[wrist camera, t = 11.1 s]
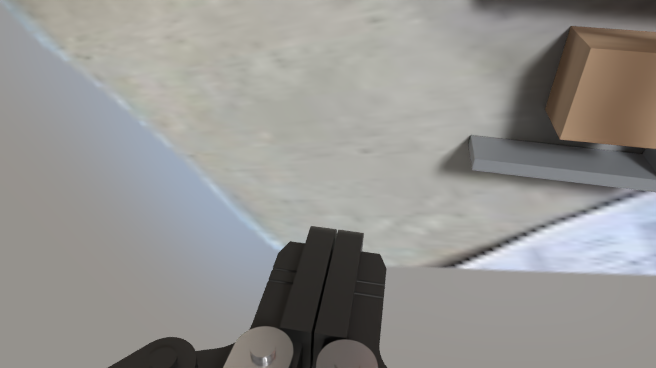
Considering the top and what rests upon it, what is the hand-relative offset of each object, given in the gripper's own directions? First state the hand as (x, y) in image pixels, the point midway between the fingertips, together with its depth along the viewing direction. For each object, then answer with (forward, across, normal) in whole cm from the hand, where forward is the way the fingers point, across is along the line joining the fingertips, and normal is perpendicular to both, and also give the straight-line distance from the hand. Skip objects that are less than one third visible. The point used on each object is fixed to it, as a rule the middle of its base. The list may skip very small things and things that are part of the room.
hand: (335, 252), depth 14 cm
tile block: (+18, -13, 0) cm, 22 cm away
